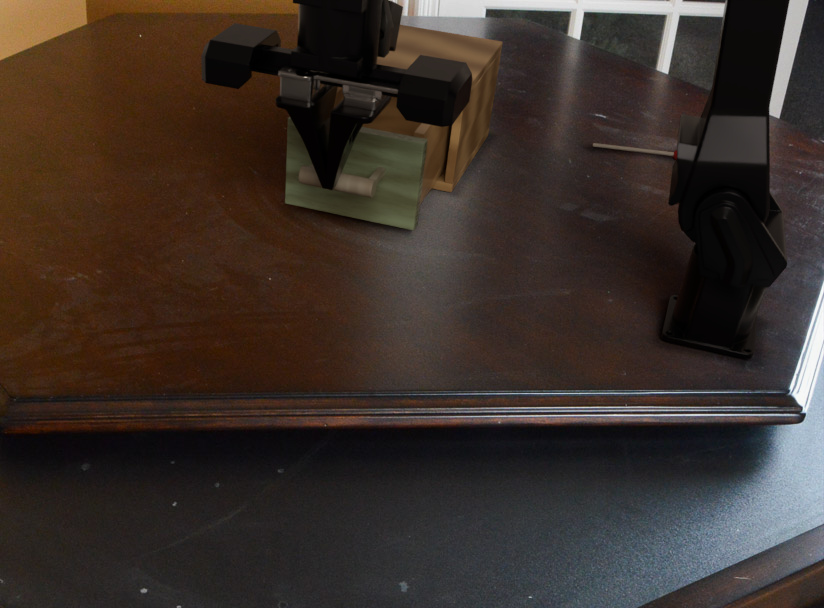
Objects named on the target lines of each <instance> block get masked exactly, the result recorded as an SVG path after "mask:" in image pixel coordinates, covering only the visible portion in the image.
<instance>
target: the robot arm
mask: <svg viewBox="0 0 824 608" xmlns="http://www.w3.org/2000/svg"><path fill="white" fill-rule="evenodd" d="M724 1H725V2H724V7H723V13H722V20H721V27H720V34H719V40H718V45H717V52H716V59H715V65H714V72H713V78H712V85H711V89H710V92H709V95H708V98H707V100H706V103H705V105H704V107H703V109H702V112H701V115H700V116H696V115H695V116H694V115H690V114H686V113H681V115H680V116H679V123H678V124H679V125H678V133H677V142H676V150H677V160H674V163H673V165H672V170H671V176H670V177H671V178H670V186H669V192H668V193H669V195H668V206H670V207H673V206H675V205H677V204H678V206H677V207H678V208H677V221H678V222H677V223H678V226H679V228H680V231H681V232H682V233H684V235H685V236H686V237H688V239H690V241H691V242H693V243H694V244H693V246H692V249H691V253H690V256H689V259H688V262H687V265H686V268H685V272H684V275H683V279H682V282H681V285H680V289H679V291H678V294H677V295H674V294H673V295H671V296H670V297H669V300H668V304H667V308H666V313H665V317H664V322H663V327H662V331H661V336H660V337H661V339H662V340H663V341H665V342H667V343H673V344H677V345H680V346H687V347H691V348H695V349H699V350H704V351H707V352H708V351H709V352H713V353H717V354H722V355H727V356H730V357H731V356H732V357H735V358H740V359H745V360H751V359H752V358H753V357H754V353H755V348H756V347H755V346H756V335H757V323H758V322H757V321H758V313H759V310H760V307H761V305H762V302H763V299H764V297H765V294H766V291H767V289H768V288H770V287H771V286H772V285H773V284H774V282H776V281H777V279H778V278H779V277H780V276H781V274H782V273H783V272H784V271H785V270H786V269H787V267H788V255H787V243H786V242H787V241H786V229H785V218H784V217H785V216H784V210H783V208H782V207H781V205H780V204H779V203H778V200H777V199H776V198H775V196H774V195H773V193H772V191H771V189H770V188H771V183H770V181H771V180H770V179H771V155H770V154H771V153H770V151H771V149H770V148H771V147H770V146H771V145H770V142H771V141H770V139H771V137H770V135H771V134H770V133H771V132H770V107H771V106H770V105H771V101H772V95H773V90H774V85H775V79H776V75H777V68H778V63H779V60H780V59H779V58H780V53H781V48H782V42H783V37H784V32H785V27H786V22H787V16H788V12H789V6H790V0H724ZM292 4H296V5H298V7H297V10H298V11H297V33H296V34H297V37H296V47H294V48H293V49H292V48H287V47H282V39H281V36H280V34H279V32H278V30H277V29H271V28H266V27H261V26H254V25H248V24H242V23H237V22H234V23H232V24H231V25H229V26H228V27H227V28H225V29H224V30H222V31H221V32H219V33H218V34H217V35H215V36H213V37H212V38H211V39H209V41H207V43H206V44H204V46H203V50H202V53H201V57H200V58H201V60H200V61H201V80H202V81H203V82H204V83H205V84H209V85H213V86H214V85H215V86H218V87H224V88H225V87H226V88H230V89H236V90H239V89H240V88H242V87H243V86H244V85H245V84H247V82H248V81H249V80H251V79H252V78H253V72H255V73H260V74H264V75H270V76H276V77H279V84H280V85H279V94H278V95H277V96H276V97H275V100H274V102H275V103H274V104H275V107H276V108H278V109H282V110H285V111H286V112H287V115H288V116H289V117H290V118H291V120H292V121H293V123H294V125H295V127H296V129H297V131H298V133H299V134H300V136H301V138H302V140H303V142H304V144H305V147H306V149H307V151H308V154H309V156H310V159H311V161H312V164H313V166H314V169H315V171H316V174H317V176H318V179H319V181H320V184H321V186H322V188H323V189H328V190H333V189H334V188H335V186H336V185H337V182H338V180H339V178H340V175H341V173H342V170H343V168H344V166H345V163H346V161H347V158H348V156H349V154H350V151H351V149H352V146H353V144H354V142H355V139H356V137H357V135H358V133H359V131H360V129H361V128H362V126H363V124H370V123H372V122H373V121H374V120H375V119H376V118H377V116H378V115H379V114H380V113H381V112H382V111H383V110H384V109H385V107H386V106H387V105H388V104H389V103H390V101H391V98H392V97H397V105H396V107H397V109H398V110H399V111H400V113H401V114H402V116H403V117H404V118H405V120H407V121H413V122H418V123H423V124H429V125H434V126H440V127H445V126H452V125H453V123H454V122H455V121H456V119H457V118H458V116H459V115H460V114H461V112H462V111H463V109H464V108H465V107H466V105H467V104H468V103H469V100H470V93H471V86H472V72H471V71H470V69H469V67H468V65H467V63H466V62H460V61H454V60H448V59H442V58H436V57H431V56H425V55H420V56H419V57H418V58H417V59H416V60H415V61H414V62H413V63H412V64H411V65H410V67H409V68H408V69H402V68H396V67H391V66H385V65H379V64H377V59H378V57H382V58H385V57H386V56H387V55H388V54H389V51H395V50H396V44H397V38H398V33H399V27H400V25H401V21H402V15H403V9H404V7H403V6H402V5H400V4H399V3H396V1H395V2H394V1H393V0H292ZM338 87H342V88H343V90H342V94H343V95H344V99H343V100H342V101H341V102H340V103H339V104H338V105H337V106H336V107H335V108H334V104H335V98H336V93H337V88H338Z"/></svg>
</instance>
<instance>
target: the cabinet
mask: <svg viewBox="0 0 824 608" xmlns="http://www.w3.org/2000/svg"><path fill="white" fill-rule="evenodd" d="M503 44H504V42H503V41H501V40H494V39H488V38H483V37H477V36H471V35H466V34H458V33H453V32H447V31H442V30H435V29H429V28H423V27H417V26H411V25H405V24H400V27H399V33H398V38H397V44H396V50H395V51H389V54H388V55H387V56H386V57H385V58H382V57H378V59H377V64H379V65H385V66H391V67H396V68H402V69H408V68H409V67H410V65H411V64H412V63H413V62H414V61H415V60H416V59H417V58H418V57H419V56H420V55H425V56H431V57H436V58H442V59H448V60H454V61H460V62H466V63H467V65H468V67H469V69H470V71H471V72H472V86H471V93H470V100H469V103H468V104H467V105H466V107H465V108H464V109H463V111H462V112H461V114H460V115H459V116H458V118H457V119H456V121H455V122H454V123H453V125H452V129H451V137H450V144H449V151H448V159H447V166H446V168H445V169H444V171H443V172H442V174H441V175H440V176H439V178H438V179H437V181H436V182H435V184H434V185H433V187H432V188H431V190H432V189H433V190H437V191H443V192H448V193H452V192H453V190H455V187H456V186H457V184H458V183H459V182H460V180H461V178H462V177H463V176H464V174H465V172H466V171H467V169H468V168H469V166H470V164H471V163H472V161H473V159H474V158H475V157H476V155H477V153H478V152H479V151H480V149H481V148H482V146H483V144H484V142H485V141H486V140H487V138H488V137H489V133H490V127H491V126H490V125H491V119H492V113H493V108H494V107H493V106H494V100H495V95H496V87H497V81H498V75H499V69H500V63H501V57H502V49H503Z"/></svg>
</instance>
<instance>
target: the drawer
mask: <svg viewBox="0 0 824 608" xmlns="http://www.w3.org/2000/svg"><path fill="white" fill-rule="evenodd" d="M342 90H343V88H342V87H338V88H337V93H336V98H335V104H334V108H335V107H336V106H337V105H338V104H339V103H340V102H341V101H342V100H343V99H344V95H343V94H342ZM396 105H397V97H392V98H391V101H390V103H389V104H388V105H387V106H386V107H385V109H384V110H383V111H382V112H381V113H380V114H379V115H378V116H377V118H376V119H375V120H374V121H373V122H372V123H370V124H363V126H362V128H361V129H360V131H359V133H358V135H357V137H356V139H355V142H354V144H353V146H352V149H351V151H350V154H349V156H348V158H347V161H346V163H345V166H344V168H343V170H342V173H341V175H340V178H339V180H338V182H337V185H336V186H335V188H334V189H333V190H328V189H323V188H322V186H321V184H320V181H319V179H318V176H317V174H316V171H315V169H314V166H313V164H312V161H311V159H310V156H309V154H308V151H307V149H306V147H305V144H304V142H303V140H302V138H301V136H300V134H299V133H298V131H297V129H296V127H295V125H294V123H293V121H292V120H291V118H290V116H289V117H287V130H286V131H287V132H286V157H285V158H286V159H285V160H286V163H285V188H284V189H285V191H284V193H285V194H284V204H286V205H292V206H296V207H301V208H305V209H310V210H315V211H320V212H323V213H329V214H333V215H337V216H343V217H348V218H352V219H357V220H361V221H367V222H372V223H376V224H380V225H385V226H391V227H394V228H395V227H396V228H400V229H405V230H410V231H415V229H416V227H417V226H418V223H419V215H420V208H421V207H420V206H421V204H422V202H423V201H424V200H425V198H426V197H427V195H428V194H429V193H430V191H431V190H432V187H433V185H434V184H435V182H436V181H437V179H438V178H439V176H440V175H441V174H442V172H443V171H444V169H445V168H446V166H447V159H448V151H449V144H450V137H451V129H452V126H445V127H440V126H434V125H429V124H423V123H418V122H413V121H407V120H405V118H404V117H403V116H402V114H401V113H400V111H399V110H398V109H397V107H396Z"/></svg>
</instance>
